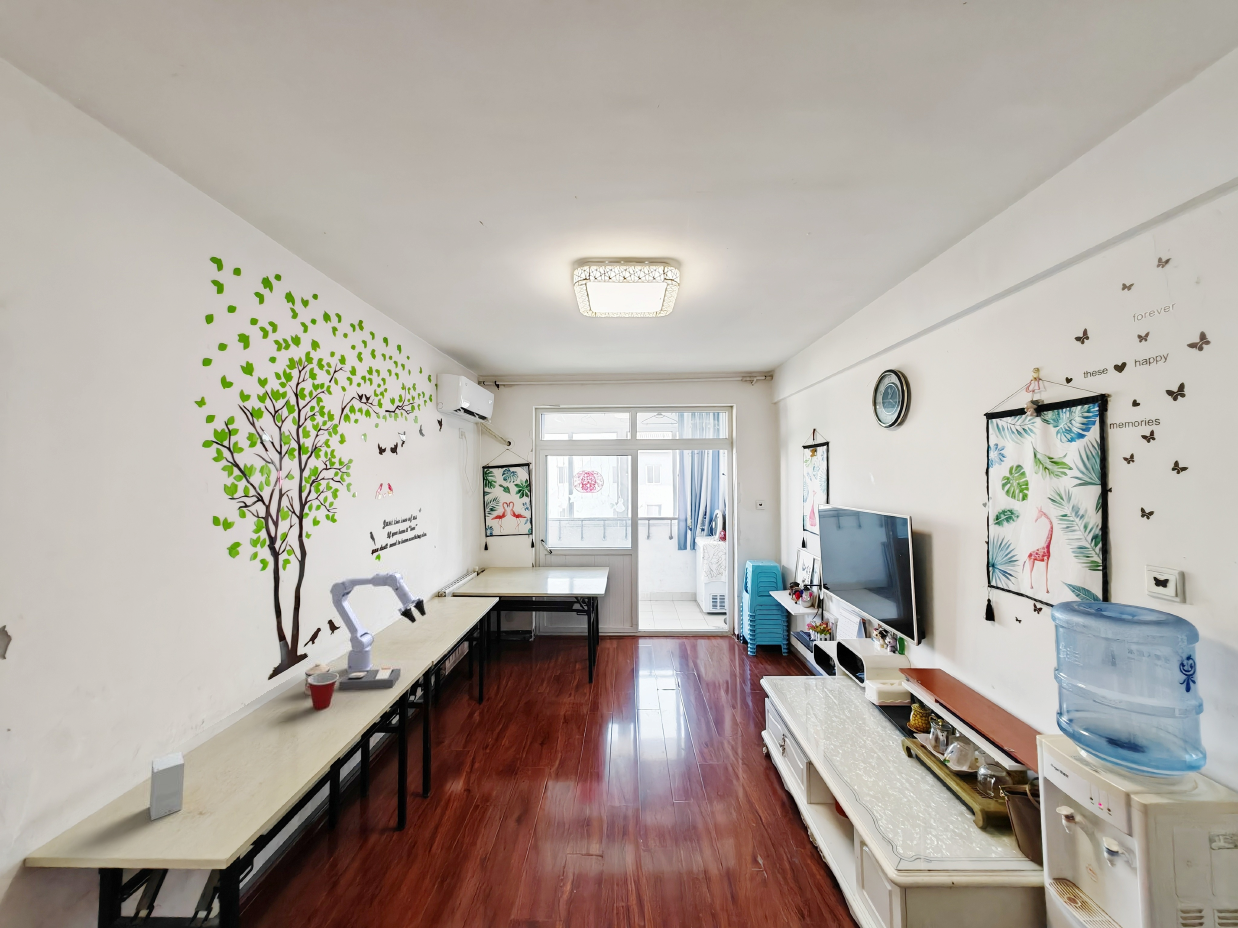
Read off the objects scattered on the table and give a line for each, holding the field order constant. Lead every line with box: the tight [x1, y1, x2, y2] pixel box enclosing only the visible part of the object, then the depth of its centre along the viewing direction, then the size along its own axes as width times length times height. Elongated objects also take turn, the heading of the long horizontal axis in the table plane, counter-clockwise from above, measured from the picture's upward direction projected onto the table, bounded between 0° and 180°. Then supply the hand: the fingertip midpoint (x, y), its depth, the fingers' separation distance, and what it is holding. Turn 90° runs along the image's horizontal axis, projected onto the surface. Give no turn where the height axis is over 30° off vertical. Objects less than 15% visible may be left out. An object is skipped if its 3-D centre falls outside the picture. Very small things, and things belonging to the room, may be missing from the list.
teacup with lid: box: [304, 662, 331, 696], centre depth 207 cm, size 12×9×12 cm
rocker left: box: [349, 672, 367, 678], centre depth 215 cm, size 5×8×1 cm, turn 10°
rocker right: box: [375, 666, 394, 679], centre depth 216 cm, size 5×8×1 cm, turn 10°
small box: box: [149, 751, 185, 821], centre depth 134 cm, size 8×6×13 cm
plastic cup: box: [308, 671, 340, 711], centre depth 193 cm, size 11×11×12 cm
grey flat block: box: [338, 668, 402, 691], centre depth 215 cm, size 22×12×4 cm, turn 100°
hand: (419, 618), depth 231 cm, fingers open, 7 cm apart
